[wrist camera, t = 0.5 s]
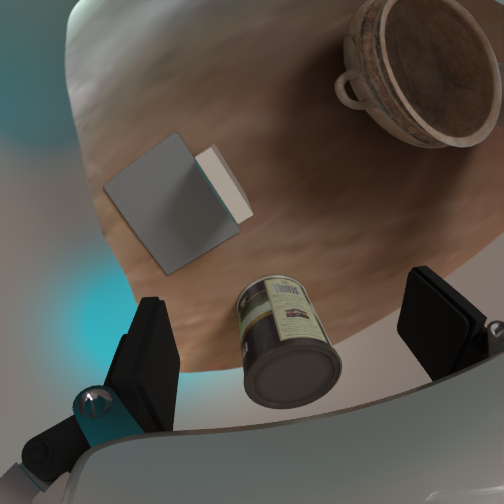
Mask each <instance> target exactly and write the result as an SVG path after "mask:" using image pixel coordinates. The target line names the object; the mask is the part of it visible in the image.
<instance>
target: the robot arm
mask: <svg viewBox="0 0 504 504" xmlns="http://www.w3.org/2000/svg"><path fill="white" fill-rule="evenodd" d="M498 67H499V72H500V77H501V86H502V100H501V108H500V113H499V116H498V119H497V122H496V124H495V126H501V127H504V63H498ZM486 319H487V317H486V316H485V315H483V314H482V313H481V312H480V311H479V310H478V309H477V308H476V307H475V306H474V305H472V304H471V303H470V302H469V301H468V300H467V299H466V298H465V297H463V296H462V295H461V294H460V293H459V292H458V291H456V290H455V289H454V288H453V287H452V286H450V285H449V284H448V283H447V282H446V281H444V280H443V279H442V278H441V277H440V276H438V275H437V274H436V273H435V272H433V271H432V270H431V269H430V268H428V267H427V266H419V267H414V268H412V270H411V271H410V272H409V274H408V278H407V283H406V288H405V293H404V298H403V302H402V307H401V311H400V316H399V320H398V324H397V331H398V334H399V335H400V337H401V338H402V339H403V341H404V342H405V343H406V344H407V346H408V347H409V349H410V350H411V351H412V353H413V354H414V356H415V357H416V358H417V360H418V361H419V362H420V364H421V365H422V367H423V368H424V369H425V371H426V372H427V374H428V375H429V376H430V378H431V379H432V381H433V382H431V383H428V384H425V385H422V386H420V387H417V388H414V389H411V390H408V391H405V392H402V393H399V394H396V395H393V396H389V397H386V398H383V399H380V400H376V401H373V402H369V403H365V404H362V405H358V406H354V407H350V408H346V409H342V410H337V411H333V412H328V413H324V414H319V415H314V416H309V417H303V418H298V419H292V420H286V421H279V422H273V423H265V424H256V425H247V426H238V427H228V428H216V429H200V430H182V431H173V423H174V413H175V404H176V394H177V386H178V378H179V370H180V357H179V354H178V350H177V347H176V343H175V339H174V336H173V332H172V328H171V325H170V321H169V317H168V313H167V309H166V305H165V302H164V300H159V298H158V297H143V298H142V299H141V301H140V304H139V306H138V308H137V311H136V313H135V316H134V318H133V321H132V323H131V326H130V328H129V331H128V334H124V335H123V336H122V337H121V340H120V342H119V345H118V347H117V350H116V352H115V355H114V358H113V360H112V363H111V366H110V368H109V371H108V374H107V377H106V379H105V382H104V385H103V386H102V385H97V386H91V387H88V388H86V389H84V390H83V391H81V392H80V393H79V394H78V395H77V396H76V398H75V400H74V402H73V407H72V408H73V412H74V415H73V416H70V417H69V418H67V419H65V420H64V421H62V422H60V423H59V424H57V425H55V426H53V427H51V428H50V429H48V430H46V431H44V432H42V433H41V434H39V435H37V436H35V437H34V438H32V439H30V440H29V441H28V442H27V443H26V444H25V446H24V448H23V450H22V463H21V464H20V465H19V464H18V463H15V464H14V465H13V466H12V467H11V468H10V469H9V470H8V471H7V472H6V473H5V474H4V475H3V476H2V477H1V478H0V504H504V322H502V321H492V322H490V323H489V324H488V326H487V328H486V327H485V326H484V324H485V322H486Z"/></svg>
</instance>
